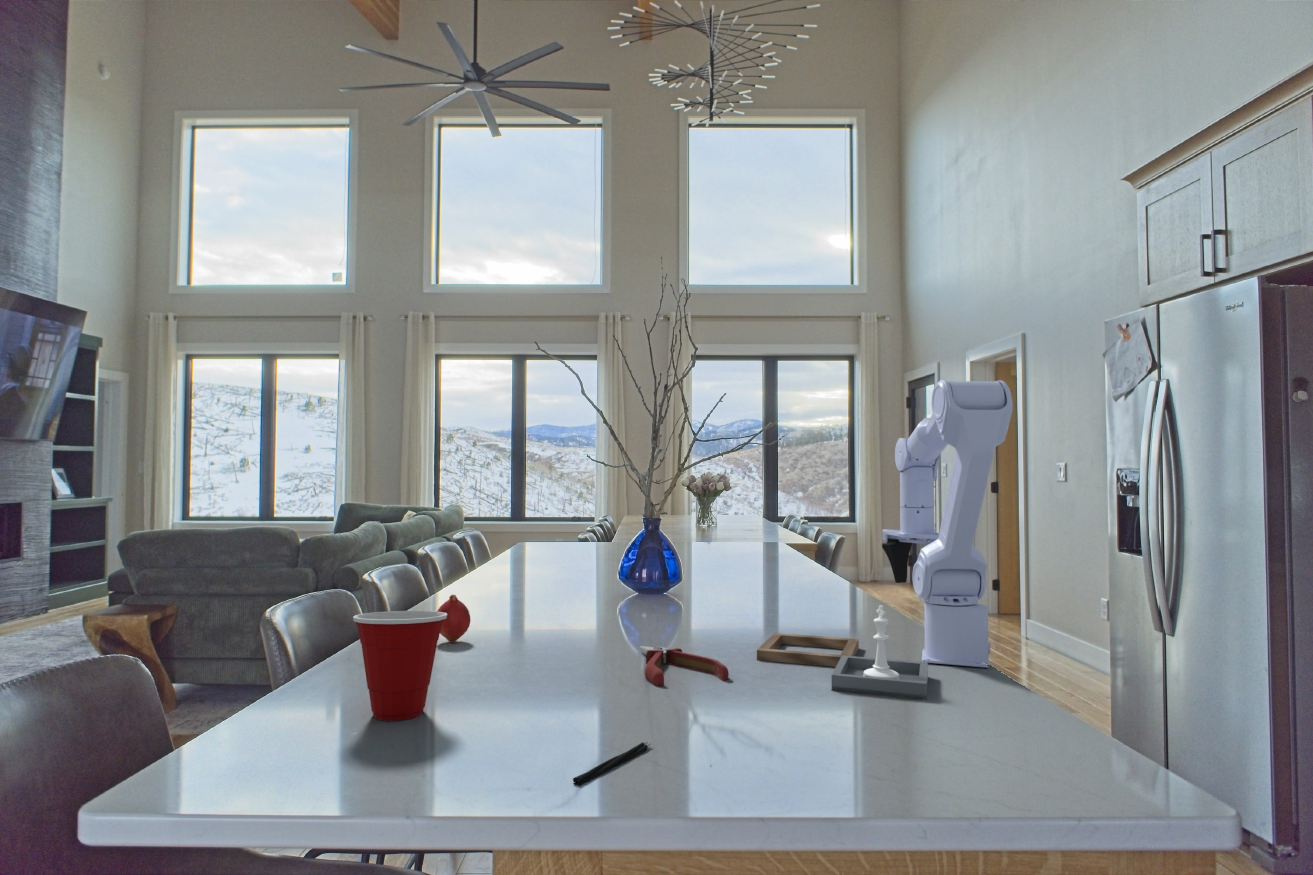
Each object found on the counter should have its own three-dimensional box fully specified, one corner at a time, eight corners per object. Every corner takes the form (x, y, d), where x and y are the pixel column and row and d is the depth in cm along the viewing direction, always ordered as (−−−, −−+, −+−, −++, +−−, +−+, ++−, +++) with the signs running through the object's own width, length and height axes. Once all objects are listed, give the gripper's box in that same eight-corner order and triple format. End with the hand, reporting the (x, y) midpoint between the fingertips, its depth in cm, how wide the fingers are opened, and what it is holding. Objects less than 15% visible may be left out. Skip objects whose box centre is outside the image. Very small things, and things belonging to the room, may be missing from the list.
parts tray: (927, 676, 113) (927, 662, 113) (926, 699, 102) (926, 683, 102) (841, 668, 117) (841, 655, 117) (831, 689, 106) (831, 674, 106)
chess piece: (887, 672, 113) (887, 602, 114) (906, 681, 109) (906, 608, 109) (856, 674, 112) (856, 603, 113) (874, 683, 107) (874, 609, 108)
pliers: (681, 652, 130) (681, 635, 130) (732, 684, 111) (732, 665, 111) (613, 657, 126) (613, 640, 126) (654, 691, 107) (654, 671, 107)
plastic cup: (453, 699, 100) (455, 603, 101) (436, 726, 90) (438, 619, 90) (365, 700, 99) (367, 604, 100) (337, 728, 89) (340, 620, 89)
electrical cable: (644, 748, 84) (644, 738, 84) (652, 750, 84) (652, 740, 84) (572, 786, 74) (572, 775, 74) (580, 789, 73) (580, 778, 73)
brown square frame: (858, 648, 131) (858, 639, 131) (849, 668, 118) (849, 657, 118) (774, 641, 136) (774, 632, 136) (756, 659, 123) (756, 649, 123)
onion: (434, 639, 135) (434, 592, 136) (468, 637, 137) (469, 590, 137) (435, 646, 130) (436, 597, 130) (471, 644, 131) (472, 596, 132)
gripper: (870, 505, 144) (870, 581, 143) (934, 509, 131) (935, 592, 131) (897, 505, 147) (898, 578, 147) (963, 508, 135) (963, 589, 134)
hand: (917, 585), depth 139 cm, fingers open, 7 cm apart
